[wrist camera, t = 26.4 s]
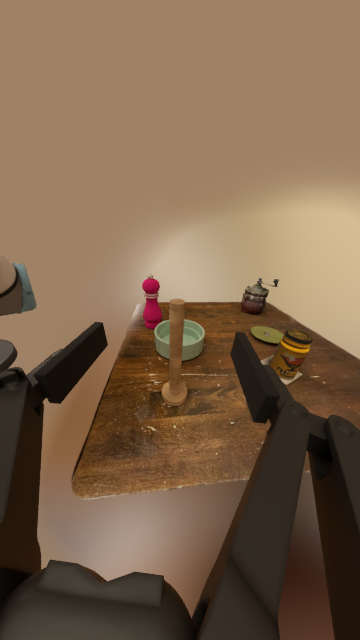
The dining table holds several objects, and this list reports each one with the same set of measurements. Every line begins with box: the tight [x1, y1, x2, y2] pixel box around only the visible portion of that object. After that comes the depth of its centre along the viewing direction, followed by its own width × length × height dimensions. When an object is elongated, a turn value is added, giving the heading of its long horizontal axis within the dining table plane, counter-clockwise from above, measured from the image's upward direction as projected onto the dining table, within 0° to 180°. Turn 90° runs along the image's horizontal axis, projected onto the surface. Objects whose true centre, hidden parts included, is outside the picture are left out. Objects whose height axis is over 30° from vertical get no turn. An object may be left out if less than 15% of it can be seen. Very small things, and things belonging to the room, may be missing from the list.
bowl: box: [154, 319, 205, 361], centre depth 48 cm, size 15×15×6 cm
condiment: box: [261, 329, 312, 385], centre depth 39 cm, size 7×8×12 cm
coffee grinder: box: [241, 278, 279, 314], centre depth 71 cm, size 13×15×18 cm
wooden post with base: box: [162, 299, 187, 406], centre depth 29 cm, size 6×6×22 cm
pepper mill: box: [142, 274, 162, 329], centre depth 56 cm, size 7×7×20 cm
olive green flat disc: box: [251, 326, 284, 343], centre depth 55 cm, size 11×11×2 cm
